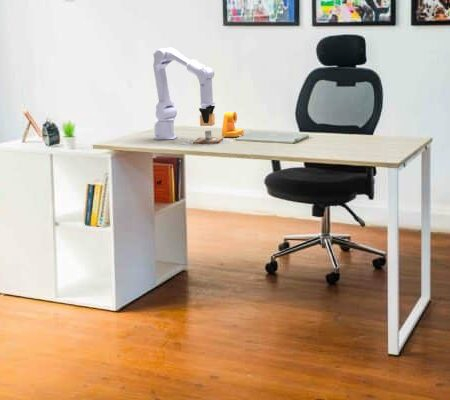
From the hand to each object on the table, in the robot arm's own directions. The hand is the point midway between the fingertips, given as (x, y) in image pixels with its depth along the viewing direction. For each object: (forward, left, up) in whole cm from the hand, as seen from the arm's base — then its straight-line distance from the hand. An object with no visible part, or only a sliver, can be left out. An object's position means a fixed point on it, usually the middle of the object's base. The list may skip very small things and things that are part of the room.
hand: (207, 122), depth 447 cm
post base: (0, 0, -9) cm, 9 cm away
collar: (0, 0, -1) cm, 1 cm away
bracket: (+9, +16, -10) cm, 21 cm away
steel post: (0, 0, -9) cm, 9 cm away
